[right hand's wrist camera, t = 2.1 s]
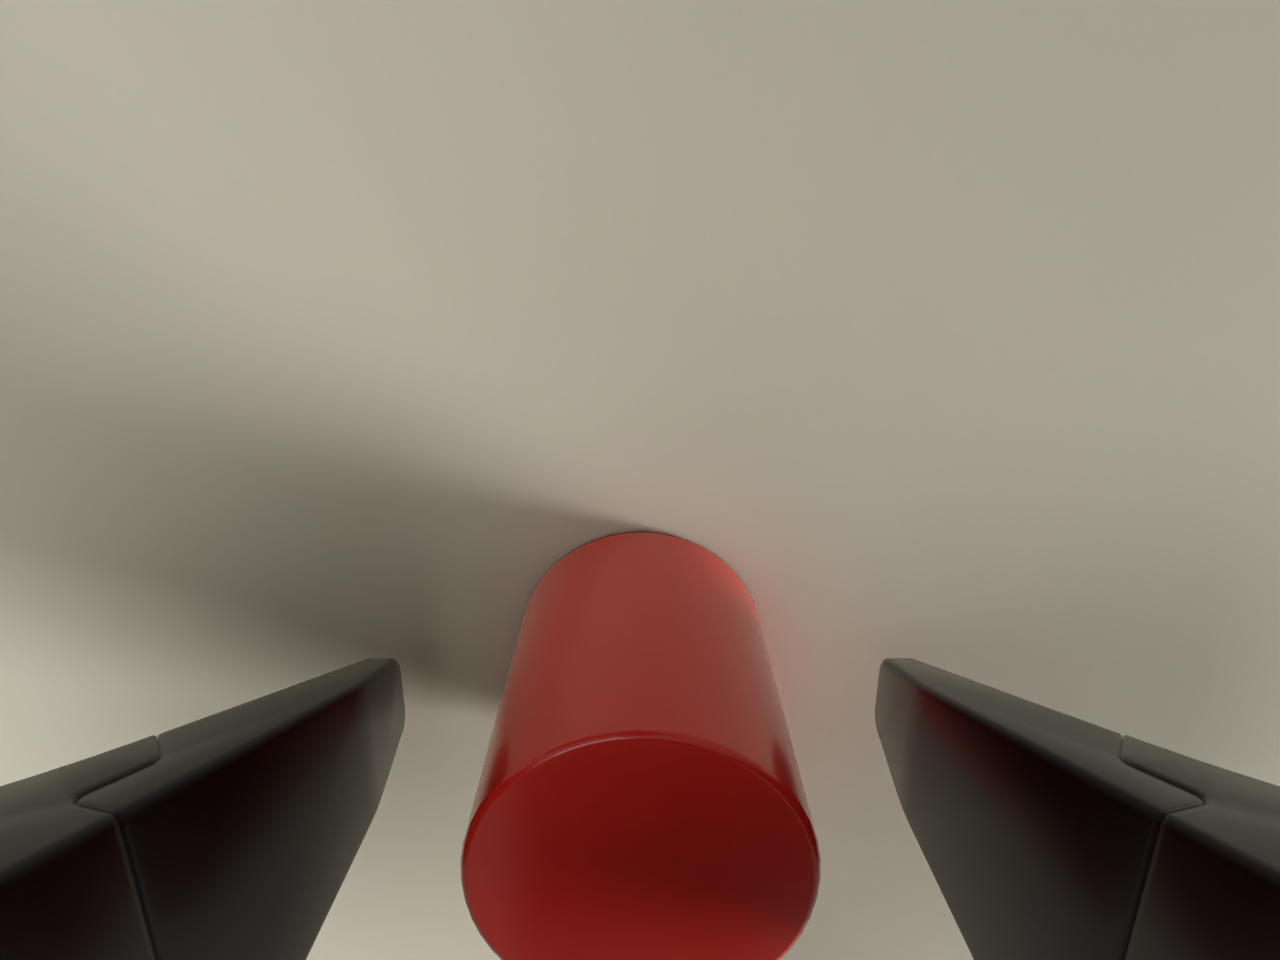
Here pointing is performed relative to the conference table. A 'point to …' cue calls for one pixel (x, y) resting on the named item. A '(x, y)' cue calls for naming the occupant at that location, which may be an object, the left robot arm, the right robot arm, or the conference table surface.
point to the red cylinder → (640, 771)
